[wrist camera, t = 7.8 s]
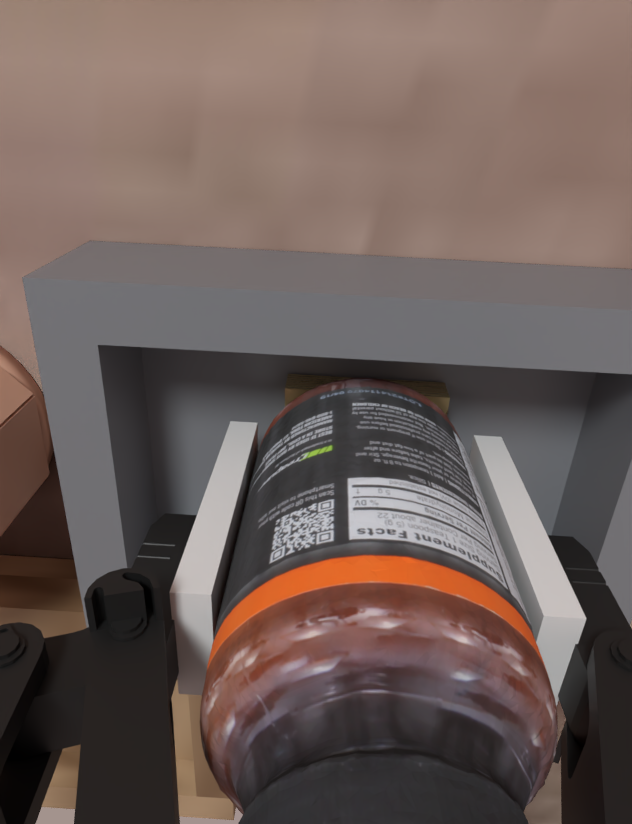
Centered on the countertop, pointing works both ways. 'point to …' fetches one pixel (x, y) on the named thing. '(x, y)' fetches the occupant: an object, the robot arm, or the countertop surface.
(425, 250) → the countertop surface
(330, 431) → the supplement bottle
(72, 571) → the square wooden tray
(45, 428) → the empty cup
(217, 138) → the countertop surface
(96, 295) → the tray
